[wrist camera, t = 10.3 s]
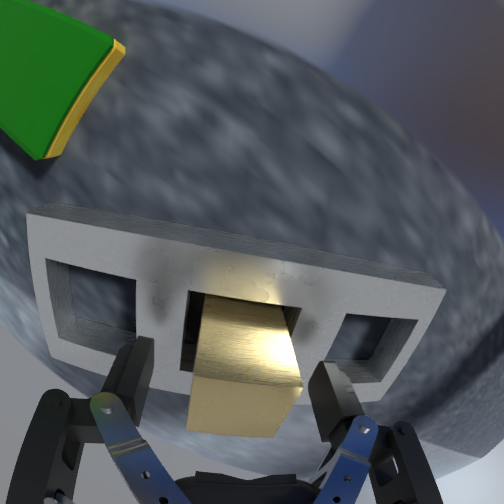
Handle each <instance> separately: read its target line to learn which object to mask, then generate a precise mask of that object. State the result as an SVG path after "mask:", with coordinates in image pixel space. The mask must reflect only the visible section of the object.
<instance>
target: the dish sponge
mask: <svg viewBox="0 0 504 504" xmlns="http://www.w3.org/2000/svg"><path fill="white" fill-rule="evenodd" d="M124 55H125V47H124V46H123V45H122V44H120V43H119V42H118V41H116V40H115V39H114V38H112V37H111V36H109V35H107V34H105V33H103V32H101V31H99V30H97V29H95V28H93V27H91V26H89V25H87V24H85V23H83V22H81V21H79V20H76V19H74V18H72V17H70V16H67V15H65V14H63V13H60V12H58V11H55V10H53V9H50V8H48V7H45V6H42V5H40V4H37V3H34V2H31V1H28V0H0V128H1V129H2V130H3V131H4V132H5V133H6V134H7V135H8V136H9V137H10V138H11V139H12V140H13V141H15V142H16V143H17V144H18V145H19V146H20V147H21V148H22V149H23V150H24V151H25V152H26V153H27V154H29V155H30V156H31V157H32V158H33V159H34V160H35V161H36V160H40V159H46V158H52V157H56V156H59V155H61V153H62V151H63V149H64V147H65V145H66V143H67V141H68V139H69V138H70V136H71V134H72V132H73V130H74V129H75V127H76V125H77V123H78V122H79V120H80V118H81V117H82V115H83V113H84V112H85V110H86V108H87V107H88V105H89V104H90V102H91V101H92V99H93V98H94V96H95V95H96V93H97V92H98V90H99V89H100V87H101V86H102V84H103V83H104V82H105V80H106V79H107V77H108V76H109V75H110V73H111V72H112V71H113V69H114V68H115V67H116V66H117V64H118V63H119V62H120V60H121V59H122V58H123V57H124Z"/></svg>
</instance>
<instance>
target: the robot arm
mask: <svg viewBox="0 0 504 504" xmlns="http://www.w3.org/2000/svg"><path fill="white" fill-rule="evenodd" d="M153 369H154V338H149V337H145V336H140V335H139V336H138V337H137V340H136V342H135V345H131V344H127V343H126V344H125V345H124V346H123V347H122V348H120V349H119V351H118V353H117V355H116V358H115V360H114V362H113V365H112V367H111V369H110V371H109V374H108V376H107V378H106V381H105V383H104V386H103V388H102V390H101V392H100V393H98V394H96V395H94V396H93V397H92V398H89V399H76V398H70V397H69V396H68V394H67V393H66V392H64V391H62V390H60V389H51V390H48V391H46V392H45V393H44V394H43V395H42V397H41V399H40V401H39V404H38V406H37V408H36V411H35V413H34V416H33V418H32V421H31V423H30V425H29V428H28V431H27V433H26V436H25V439H24V441H23V444H22V447H21V450H20V453H19V456H18V459H17V462H16V465H15V469H14V472H13V476H12V479H11V483H10V487H9V491H8V496H7V500H6V504H75V503H74V502H73V501H72V500H73V494H74V488H75V483H76V478H77V473H78V469H79V464H80V460H81V455H82V451H83V447H84V443H105V445H106V447H107V449H108V451H109V453H110V455H111V457H112V459H113V461H114V463H115V465H116V466H117V468H118V470H119V472H120V474H121V475H122V477H123V479H124V481H125V482H126V484H127V486H128V487H129V489H130V491H131V492H132V494H133V495H134V497H135V498H136V500H137V501H138V503H139V504H355V502H356V499H357V497H358V495H359V493H360V491H361V488H362V486H363V484H364V481H365V479H366V476H367V474H368V473H369V477H370V480H371V484H372V488H373V492H374V495H375V500H376V503H377V504H443V501H442V499H441V495H440V492H439V490H438V487H437V484H436V482H435V479H434V476H433V474H432V471H431V469H430V466H429V464H428V461H427V459H426V456H425V454H424V451H423V449H422V447H421V444H420V442H419V440H418V437H417V435H416V433H415V430H414V429H413V427H412V426H411V425H410V424H409V423H407V422H404V421H399V422H397V423H395V424H394V425H393V426H392V427H387V426H380V425H378V424H377V422H376V421H375V420H374V419H373V418H371V417H369V416H366V415H365V414H364V411H363V409H362V407H361V404H360V402H359V400H358V397H357V395H356V393H355V390H354V388H353V387H352V383H351V381H350V379H349V377H348V376H347V375H346V374H345V373H344V372H343V371H339V369H338V366H337V364H336V362H335V361H319V363H318V364H317V366H316V368H315V370H314V372H313V374H312V376H311V378H310V380H309V382H308V393H309V397H310V400H311V404H312V407H313V411H314V415H315V418H316V422H317V426H318V429H319V433H320V437H321V440H322V442H331V446H330V447H329V449H328V451H327V452H326V454H325V456H324V458H323V460H322V461H321V463H320V465H319V466H318V468H317V470H316V471H315V473H314V474H313V476H312V477H311V478H310V479H309V481H308V482H305V481H302V480H297V479H296V474H286V475H270V476H266V477H263V478H258V479H253V480H243V479H239V478H236V477H232V476H228V475H224V474H218V473H208V472H199V471H196V474H195V476H191V477H185V478H181V479H178V480H176V481H174V480H173V479H172V478H171V476H170V475H169V474H168V472H167V471H166V470H165V468H164V466H163V465H162V464H161V462H160V461H159V459H158V458H157V456H156V455H155V453H154V452H153V450H152V449H151V447H150V446H149V444H148V443H147V442H146V440H143V438H142V437H141V435H140V434H139V432H138V430H137V429H136V427H135V426H137V427H139V424H140V420H141V416H142V412H143V408H144V404H145V400H146V396H147V392H148V388H149V385H150V381H151V377H152V374H153ZM393 457H394V458H395V461H396V464H397V467H398V473H397V470H396V467H395V464H394V461H393V459H392V458H393Z"/></svg>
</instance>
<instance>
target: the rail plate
mask: <svg viewBox="0 0 504 504" xmlns="http://www.w3.org/2000/svg"><path fill="white" fill-rule="evenodd" d="M26 214H27V234H28V246H29V256H30V264H31V271H32V278H33V284H34V290H35V295H36V300H37V305H38V310H39V314H40V319H41V323H42V327H43V330H44V334H45V338H46V341H47V345H48V348H49V351H50V355H51V357H52V358H55V359H58V360H60V361H63V362H65V363H68V364H71V365H74V366H77V367H79V368H82V369H85V370H88V371H92V372H95V373H98V374H101V375H104V376H108V374H109V371H110V369H111V367H112V365H113V362H114V360H115V358H116V355H117V353H118V351H119V349H120V348H122V347H123V346H124V345H125V344H126V343H127V344H131V345H135V342H136V340H137V337H138V336H139V335H140V336H145V337H149V338H154V369H153V374H152V377H151V381H150V385H149V387H151V388H155V389H160V390H165V391H170V392H175V393H181V394H186V395H190V389H191V381H192V373H193V365H194V358H195V351H196V345H194V344H189V343H185V337H186V328H187V319H188V311H189V303H190V295H191V291H196V292H202V293H208V294H213V295H219V296H225V297H231V298H237V299H244V300H250V301H257V302H263V303H270V304H277V305H284V306H285V308H284V311H283V315H284V318H285V322H286V326H287V329H288V333H289V336H290V340H291V343H292V347H293V351H294V354H295V358H296V361H297V365H298V369H299V372H300V376H301V379H302V383H303V387H304V388H303V390H302V391H301V393H300V395H299V397H298V398H297V400H296V402H295V403H294V404H299V405H312V404H311V400H310V397H309V393H308V382H309V380H310V378H311V376H312V374H313V372H314V370H315V368H316V366H317V364H318V363H319V361H335V362H336V364H337V366H338V369H339V371H343V372H344V373H345V374H346V375H347V376H348V377H349V379H350V381H351V383H352V387H353V388H354V390H355V393H356V395H357V397H358V400H359V402H370V401H379V400H380V399H381V398H382V396H383V395H384V394H385V392H386V391H387V390H388V388H389V387H390V386H391V384H392V383H393V381H394V380H395V379H396V377H397V376H398V374H399V373H400V371H401V370H402V368H403V367H404V365H405V364H406V362H407V361H408V359H409V358H410V356H411V354H412V353H413V351H414V350H415V348H416V346H417V345H418V343H419V341H420V340H421V338H422V336H423V335H424V333H425V331H426V329H427V328H428V326H429V324H430V322H431V320H432V318H433V317H434V315H435V313H436V311H437V309H438V307H439V305H440V303H441V301H442V299H443V297H444V295H445V293H446V290H447V289H445V288H444V287H443V286H442V285H441V284H440V283H438V282H437V281H436V280H435V279H434V278H432V277H431V276H430V275H429V274H428V273H426V272H423V271H418V270H414V269H409V268H404V267H400V266H395V265H390V264H386V263H381V262H376V261H371V260H367V259H362V258H357V257H352V256H347V255H342V254H337V253H333V252H328V251H323V250H318V249H313V248H308V247H303V246H298V245H292V244H287V243H282V242H277V241H272V240H267V239H262V238H256V237H251V236H246V235H241V234H235V233H230V232H225V231H219V230H214V229H208V228H203V227H197V226H192V225H186V224H181V223H175V222H170V221H164V220H158V219H152V218H147V217H141V216H135V215H129V214H123V213H117V212H112V211H106V210H100V209H93V208H87V207H81V206H75V205H69V204H62V203H56V202H50V203H48V204H45V205H43V206H41V207H39V208H37V209H35V210H32V211H30V212H28V213H26ZM69 264H71V265H75V266H79V267H83V268H87V269H91V270H95V271H99V272H104V273H108V274H112V275H117V276H121V277H126V278H131V279H135V280H136V333H135V332H131V331H127V330H123V329H119V328H115V327H111V326H107V325H104V324H100V323H96V322H93V321H89V320H86V319H83V318H79V317H76V316H75V315H74V309H73V302H72V294H71V285H70V275H69ZM346 313H350V314H359V315H370V316H380V317H392V318H391V320H390V322H389V324H388V326H387V328H386V330H385V331H384V333H383V335H382V337H381V339H380V341H379V342H378V344H377V346H376V348H375V350H374V351H373V353H372V355H371V356H370V358H369V360H353V359H325V357H326V355H327V353H328V351H329V349H330V347H331V345H332V343H333V341H334V339H335V337H336V335H337V333H338V330H339V328H340V326H341V324H342V322H343V320H344V317H345V315H346Z"/></svg>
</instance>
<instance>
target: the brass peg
mask: <svg viewBox="0 0 504 504" xmlns="http://www.w3.org/2000/svg"><path fill="white" fill-rule="evenodd" d="M303 388H304V387H303V383H302V379H301V376H300V372H299V369H298V365H297V361H296V358H295V354H294V351H293V347H292V343H291V340H290V336H289V333H288V329H287V326H286V322H285V318H284V315H283V311H282V308H281V305H277V304H270V303H263V302H257V301H250V300H244V299H237V298H231V297H225V296H219V295H213V294H208V293H205V298H204V303H203V309H202V314H201V320H200V325H199V331H198V337H197V344H196V351H195V358H194V365H193V373H192V381H191V389H190V397H189V406H188V414H187V424H186V430H189V431H196V432H203V433H211V434H219V435H229V436H241V437H258V438H273V437H274V435H275V434H276V432H277V431H278V429H279V427H280V426H281V424H282V423H283V421H284V420H285V418H286V416H287V415H288V413H289V412H290V410H291V408H292V407H293V405H294V403H295V402H296V400H297V398H298V397H299V395H300V393H301V391H302V390H303Z"/></svg>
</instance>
